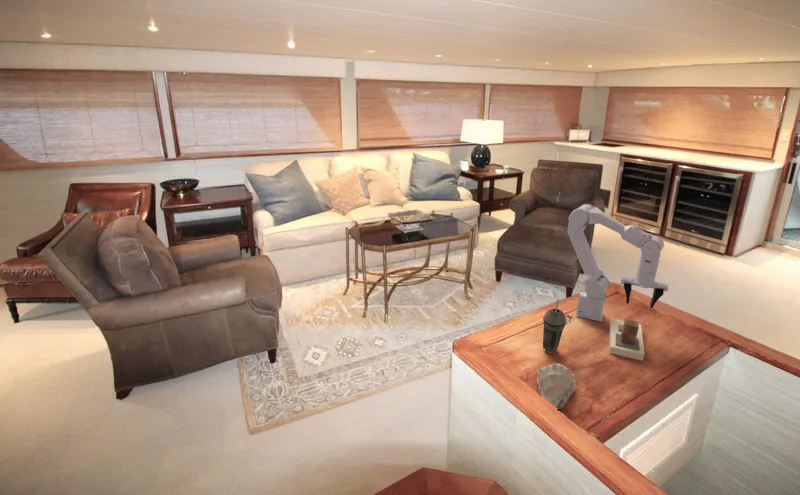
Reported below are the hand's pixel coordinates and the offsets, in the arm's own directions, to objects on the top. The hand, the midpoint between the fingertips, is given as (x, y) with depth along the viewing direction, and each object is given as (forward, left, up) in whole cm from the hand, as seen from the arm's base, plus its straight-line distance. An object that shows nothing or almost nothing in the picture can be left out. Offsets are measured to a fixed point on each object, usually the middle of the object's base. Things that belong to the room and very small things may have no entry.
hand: (639, 304), depth 151 cm
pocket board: (-3, -10, -10) cm, 15 cm away
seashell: (-21, -49, -11) cm, 54 cm away
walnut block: (-3, -15, -7) cm, 17 cm away
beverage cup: (-26, -27, -11) cm, 39 cm away
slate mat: (-3, -15, -8) cm, 17 cm away
